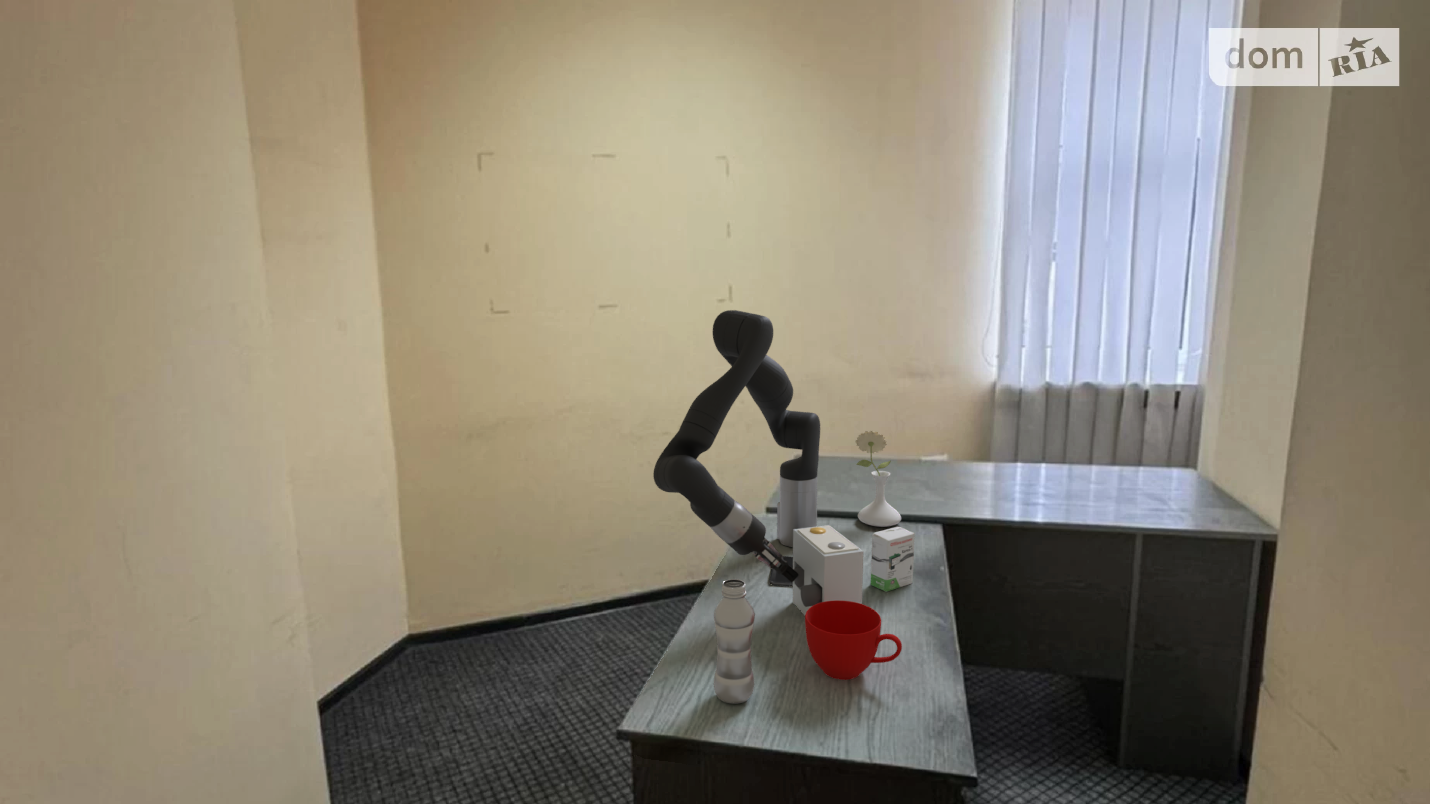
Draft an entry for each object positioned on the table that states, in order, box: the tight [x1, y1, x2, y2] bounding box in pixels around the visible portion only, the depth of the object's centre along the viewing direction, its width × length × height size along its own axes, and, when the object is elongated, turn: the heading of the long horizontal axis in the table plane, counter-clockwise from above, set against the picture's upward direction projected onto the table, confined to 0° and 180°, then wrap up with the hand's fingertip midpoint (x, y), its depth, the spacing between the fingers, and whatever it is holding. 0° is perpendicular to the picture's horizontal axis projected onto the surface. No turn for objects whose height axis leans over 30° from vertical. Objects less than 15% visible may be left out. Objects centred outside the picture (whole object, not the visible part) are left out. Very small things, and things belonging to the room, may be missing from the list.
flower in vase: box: [855, 430, 902, 528], centre depth 205 cm, size 13×11×25 cm
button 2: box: [801, 583, 822, 607], centre depth 148 cm, size 4×4×4 cm
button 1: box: [794, 567, 804, 587], centre depth 157 cm, size 4×4×4 cm
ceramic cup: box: [804, 600, 903, 681], centre depth 133 cm, size 13×17×10 cm
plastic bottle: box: [713, 578, 756, 705], centre depth 125 cm, size 6×7×20 cm
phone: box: [768, 555, 793, 587], centre depth 176 cm, size 8×1×15 cm
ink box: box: [870, 526, 916, 593], centre depth 168 cm, size 9×5×12 cm, turn 123°
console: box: [792, 524, 864, 616], centre depth 153 cm, size 8×15×16 cm, turn 17°
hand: (794, 577), depth 156 cm, fingers closed
